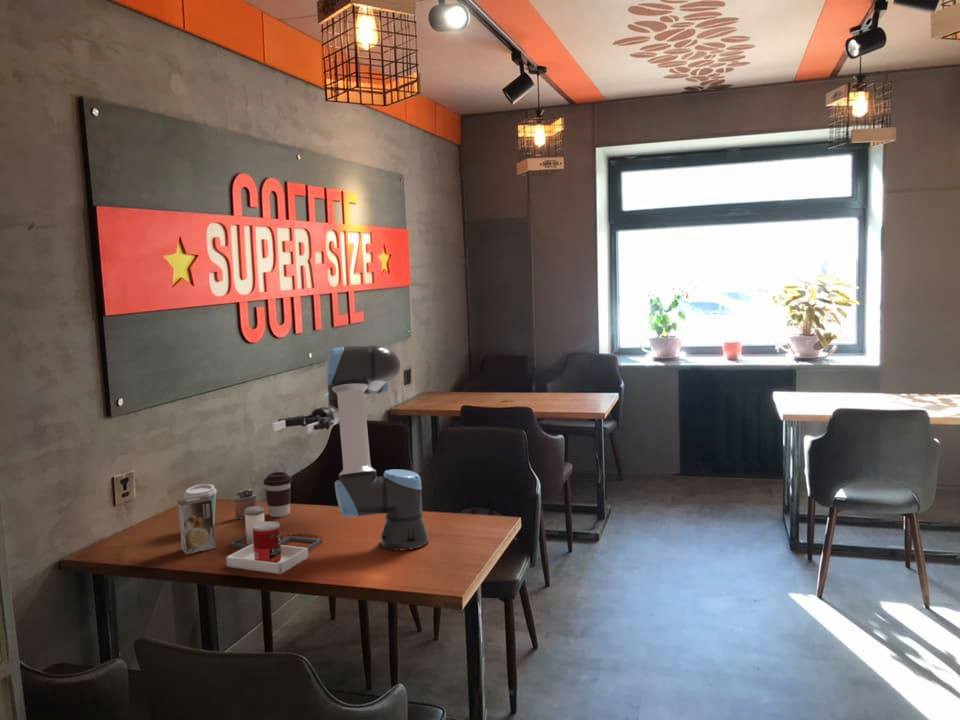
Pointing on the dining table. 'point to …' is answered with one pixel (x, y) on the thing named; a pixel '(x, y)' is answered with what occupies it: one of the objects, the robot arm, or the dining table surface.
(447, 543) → the dining table surface
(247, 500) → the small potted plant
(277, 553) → the canned food
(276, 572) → the tray
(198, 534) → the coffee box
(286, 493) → the coffee cup
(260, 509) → the salt shaker
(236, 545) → the rectangular frames
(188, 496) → the disposable coffee cup
